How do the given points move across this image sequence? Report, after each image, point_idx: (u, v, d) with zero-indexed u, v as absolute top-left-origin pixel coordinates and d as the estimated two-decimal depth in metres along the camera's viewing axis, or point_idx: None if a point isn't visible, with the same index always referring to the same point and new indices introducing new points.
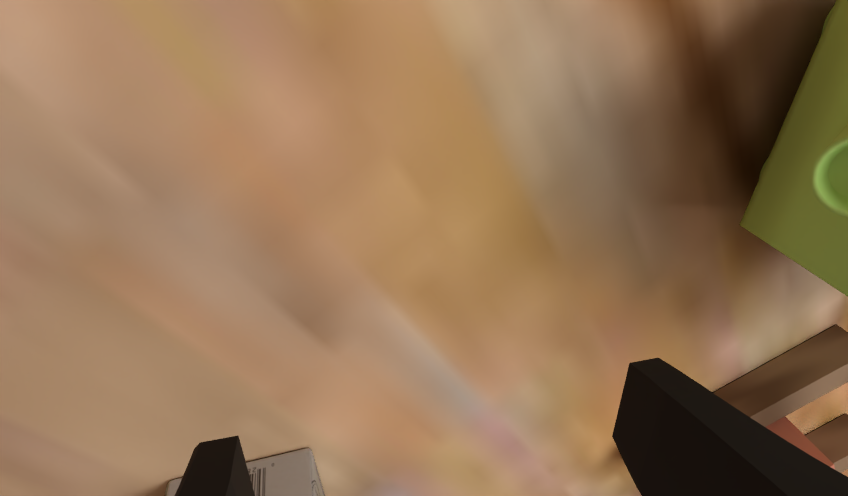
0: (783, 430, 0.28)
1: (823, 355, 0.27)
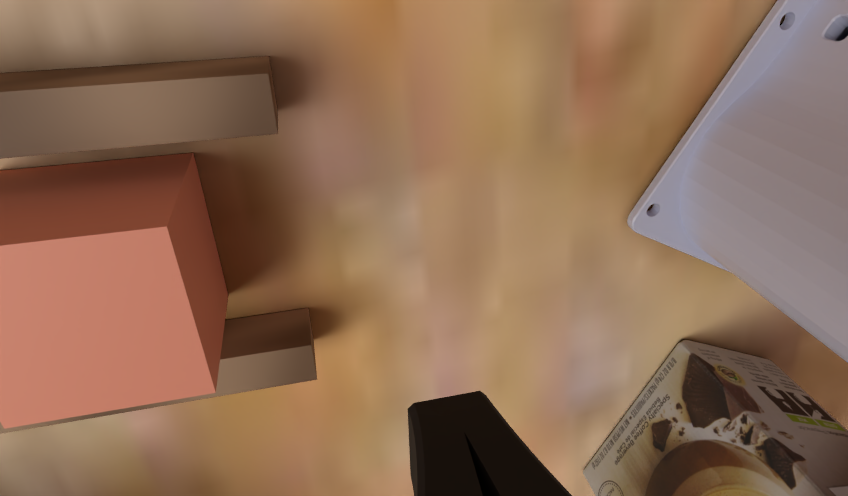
0: None
1: None
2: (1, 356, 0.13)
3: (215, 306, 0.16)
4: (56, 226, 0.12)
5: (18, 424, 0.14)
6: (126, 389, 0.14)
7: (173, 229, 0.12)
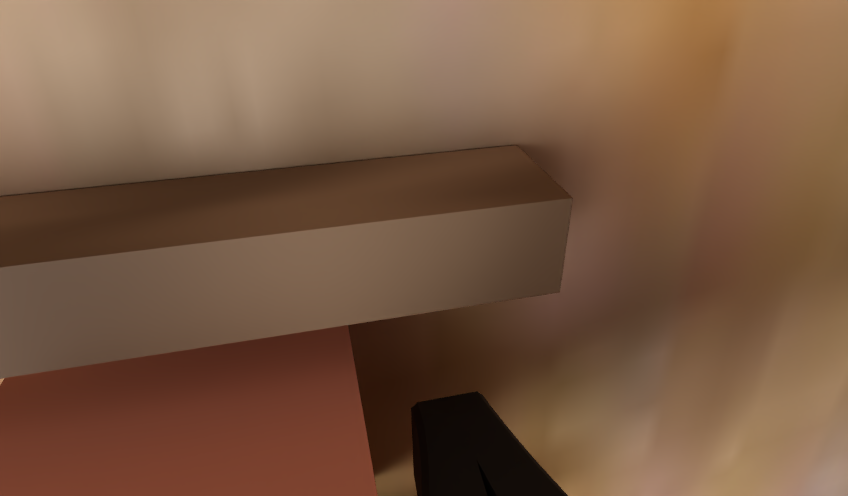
0: None
1: None
2: None
3: None
4: None
5: None
6: None
7: None
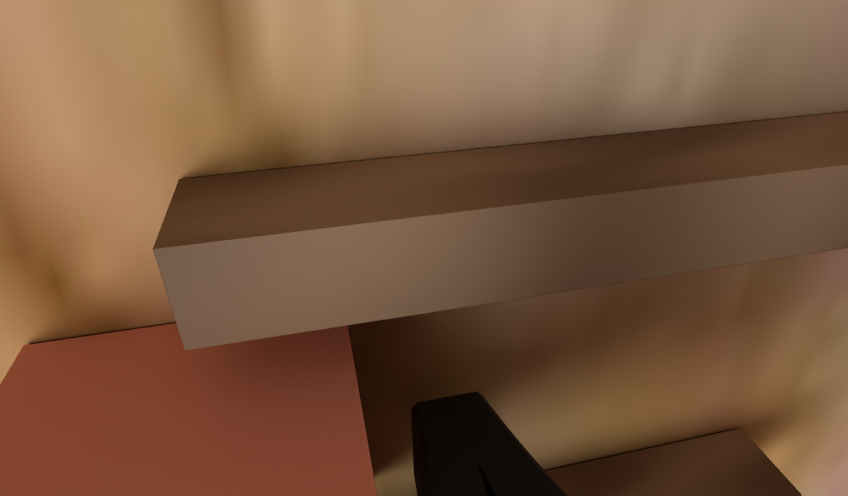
0: None
1: None
2: None
3: None
4: None
5: None
6: None
7: None
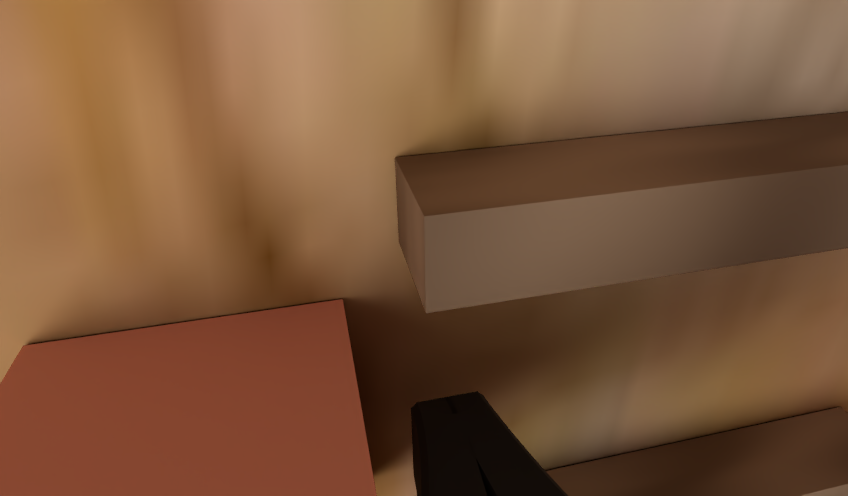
0: None
1: None
2: None
3: None
4: None
5: None
6: None
7: None
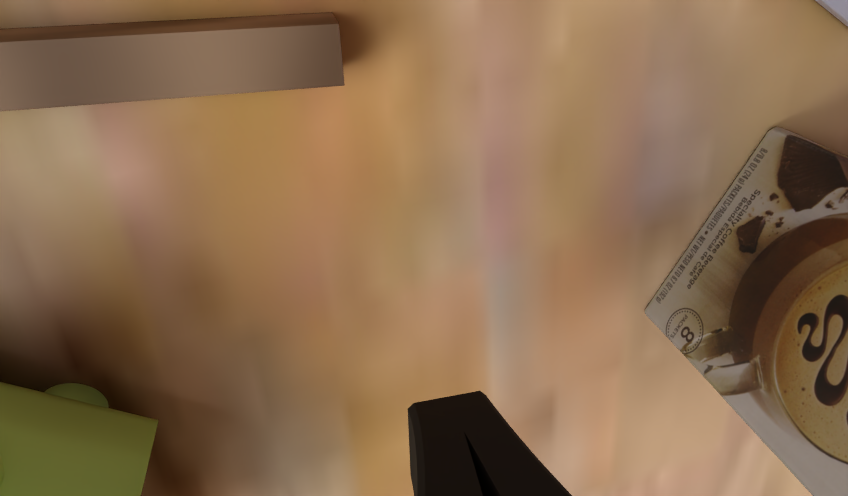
0: None
1: None
2: None
3: None
4: None
5: None
6: None
7: None
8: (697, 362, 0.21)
